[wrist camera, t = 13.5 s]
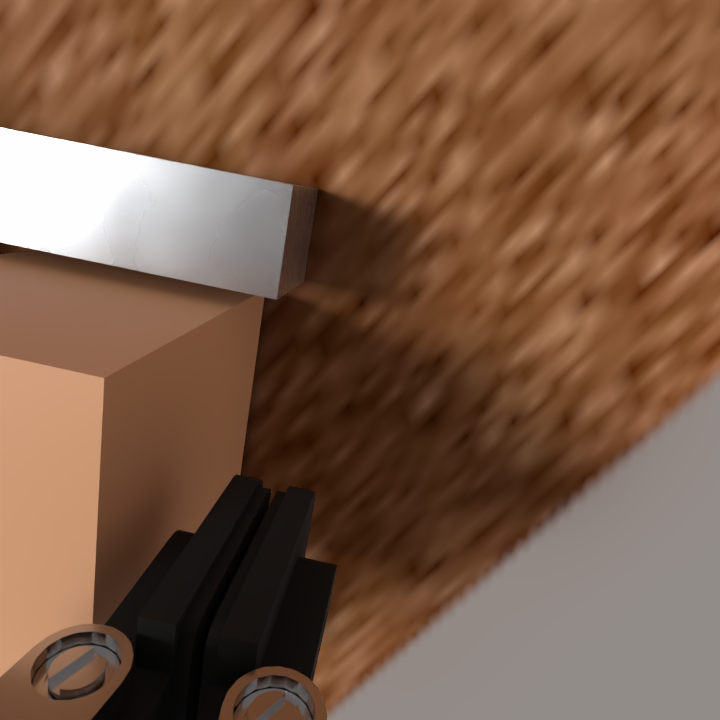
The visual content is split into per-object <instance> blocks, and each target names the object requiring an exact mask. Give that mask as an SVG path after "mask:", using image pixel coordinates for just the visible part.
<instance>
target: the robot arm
mask: <svg viewBox="0 0 720 720" xmlns="http://www.w3.org/2000/svg"><path fill="white" fill-rule="evenodd" d="M270 494H271V490H270V489H267V488H263V482H262V480H259V479H255V478H250V477H245V476H241V475H235V476H234V477H233V478H232V480H231V481H230V483H229V484H228V485H227V487H226V488H225V490H224V491H223V493H222V494H221V496H220V497H219V499H218V500H217V502H216V503H215V504H214V506H213V507H212V509H211V510H210V512H209V513H208V515H207V516H206V518H205V519H204V520H203V522H202V523H201V525H200V526H199V528H198V529H197V531H196V532H195V533H191V532H187V531H182V530H178V531H175V532H174V534H173V535H172V536H171V537H170V538H169V540H168V541H167V542H166V544H165V545H164V546H163V548H162V549H161V550H160V552H159V553H158V554H157V556H156V557H155V558H154V560H153V561H152V562H151V564H150V565H149V566H148V568H147V569H146V570H145V572H144V573H143V574H142V576H141V577H140V578H139V579H138V581H137V582H136V583H135V585H134V586H133V587H132V589H131V590H130V591H129V593H128V594H127V595H126V597H125V598H124V599H123V601H122V602H121V603H120V605H119V606H118V607H117V609H116V610H115V611H114V613H113V614H112V615H111V617H110V618H109V619H108V621H107V622H106V623H105V625H102V624H81V625H76V626H72V627H68V628H65V629H62V630H60V631H58V632H56V633H54V634H51V635H49V636H48V637H46V638H45V639H44V640H42V641H41V642H39V643H38V644H37V645H35V646H34V647H33V648H32V649H31V650H30V651H29V652H27V653H26V654H25V655H24V656H23V657H22V658H21V659H20V660H19V661H18V662H16V663H15V664H14V665H13V666H12V667H11V668H10V669H9V670H8V671H7V672H5V673H4V674H3V675H2V676H1V677H0V720H327V714H326V707H325V701H324V699H323V697H322V695H321V693H320V691H319V689H318V687H317V686H316V685H315V684H314V683H313V677H314V673H315V668H316V664H317V659H318V655H319V651H320V646H321V642H322V637H323V633H324V628H325V623H326V618H327V614H328V609H329V604H330V599H331V594H332V589H333V584H334V579H335V574H336V568H337V565H334V564H329V563H325V562H320V561H316V560H311V559H307V558H305V552H306V546H307V541H308V535H309V529H310V523H311V518H312V512H313V506H314V501H315V492H314V491H310V490H305V489H301V488H296V487H291V486H289V487H288V489H287V491H286V493H285V492H281V491H277V492H276V494H275V496H274V498H273V500H272V502H271V504H270V506H269V501H270Z"/></svg>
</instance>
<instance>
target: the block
mask: <svg viewBox="0 0 720 720" xmlns="http://www.w3.org/2000/svg"><path fill="white" fill-rule="evenodd" d="M263 304H264V297H261V296H257V295H252V294H247V293H242V292H237V291H232V290H228V289H223V288H218V287H213V286H208V285H203V284H199V283H194V282H189V281H184V280H179V279H174V278H170V277H165V276H160V275H155V274H150V273H145V272H141V271H136V270H131V269H126V268H121V267H117V266H112V265H107V264H102V263H97V262H92V261H88V260H83V259H78V258H73V257H68V256H63V255H59V254H54V253H49V252H44V251H39V250H32V251H24V252H16V253H7V254H0V677H1V676H2V675H3V674H4V673H5V672H7V671H8V670H9V669H10V668H11V667H12V666H13V665H14V664H15V663H16V662H18V661H19V660H20V659H21V658H22V657H23V656H24V655H25V654H26V653H27V652H29V651H30V650H31V649H32V648H33V647H34V646H35V645H37V644H38V643H39V642H41V641H42V640H44V639H45V638H46V637H48V636H49V635H51V634H54V633H56V632H58V631H60V630H62V629H65V628H68V627H72V626H76V625H81V624H102V625H105V623H106V622H107V621H108V619H109V618H110V617H111V615H112V614H113V613H114V611H115V610H116V609H117V607H118V606H119V605H120V603H121V602H122V601H123V599H124V598H125V597H126V595H127V594H128V593H129V591H130V590H131V589H132V587H133V586H134V585H135V583H136V582H137V581H138V579H139V578H140V577H141V576H142V574H143V573H144V572H145V570H146V569H147V568H148V566H149V565H150V564H151V562H152V561H153V560H154V558H155V557H156V556H157V554H158V553H159V552H160V550H161V549H162V548H163V546H164V545H165V544H166V542H167V541H168V540H169V538H170V537H171V536H172V535H173V534H174V532H175V531H178V530H182V531H187V532H191V533H195V532H196V531H197V529H198V528H199V526H200V525H201V523H202V522H203V520H204V519H205V518H206V516H207V515H208V513H209V512H210V510H211V509H212V507H213V506H214V504H215V503H216V502H217V500H218V499H219V497H220V496H221V494H222V493H223V491H224V490H225V488H226V487H227V485H228V484H229V483H230V481H231V480H232V478H233V477H234V476H235V475H240V474H241V467H242V459H243V452H244V444H245V437H246V430H247V422H248V415H249V407H250V400H251V393H252V385H253V378H254V371H255V363H256V356H257V348H258V341H259V334H260V326H261V319H262V311H263Z"/></svg>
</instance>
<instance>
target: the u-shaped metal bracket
mask: <svg viewBox="0 0 720 720" xmlns="http://www.w3.org/2000/svg"><path fill="white" fill-rule="evenodd" d="M317 196H318V189H316V188H311V187H306V186H301V185H296V184H291V183H286V182H280V181H275V180H270V179H265V178H260V177H255V176H250V175H245V174H240V173H234V172H229V171H224V170H219V169H214V168H209V167H204V166H199V165H194V164H189V163H183V162H178V161H173V160H168V159H163V158H158V157H153V156H148V155H143V154H138V153H132V152H127V151H122V150H117V149H112V148H107V147H102V146H97V145H92V144H86V143H81V142H76V141H71V140H66V139H61V138H56V137H51V136H46V135H41V134H35V133H30V132H25V131H20V130H15V129H10V128H5V127H0V242H1V243H6V244H10V245H15V246H20V247H25V248H30V249H34V250H39V251H44V252H49V253H54V254H59V255H63V256H68V257H73V258H78V259H83V260H88V261H92V262H97V263H102V264H107V265H112V266H117V267H121V268H126V269H131V270H136V271H141V272H145V273H150V274H155V275H160V276H165V277H170V278H174V279H179V280H184V281H189V282H194V283H199V284H203V285H208V286H213V287H218V288H223V289H228V290H232V291H237V292H242V293H247V294H252V295H257V296H261V297H266V298H271V299H276V300H277V299H278V298H280V297H282V296H283V295H285V294H286V293H288V292H289V291H291V290H292V289H294V288H295V287H297V286H298V285H300V284H301V283H303V282H304V279H305V273H306V266H307V260H308V253H309V247H310V241H311V234H312V228H313V221H314V215H315V208H316V202H317Z"/></svg>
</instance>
